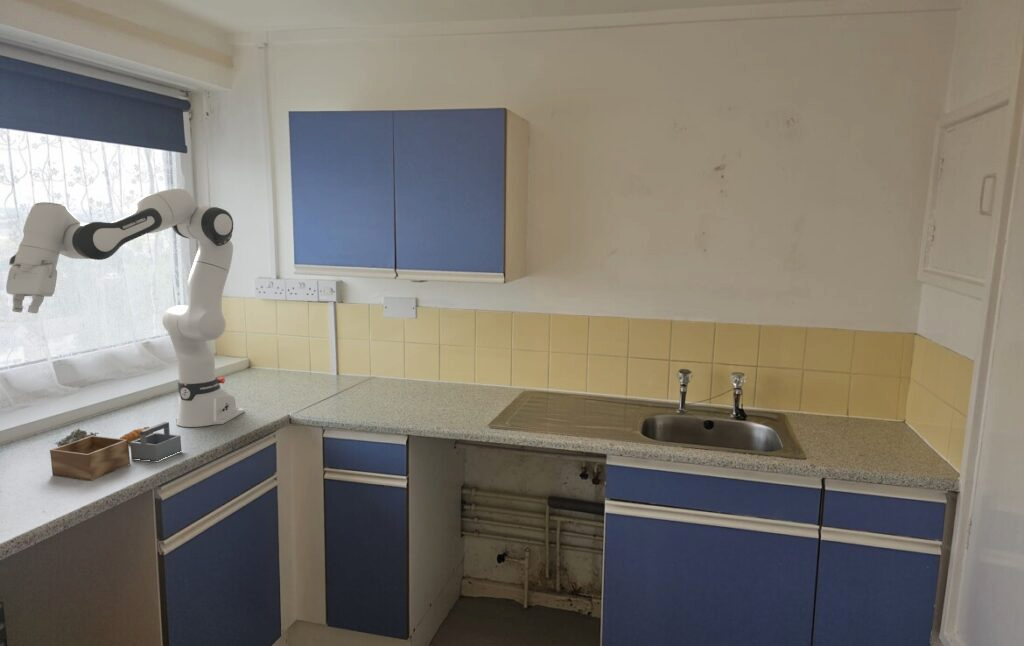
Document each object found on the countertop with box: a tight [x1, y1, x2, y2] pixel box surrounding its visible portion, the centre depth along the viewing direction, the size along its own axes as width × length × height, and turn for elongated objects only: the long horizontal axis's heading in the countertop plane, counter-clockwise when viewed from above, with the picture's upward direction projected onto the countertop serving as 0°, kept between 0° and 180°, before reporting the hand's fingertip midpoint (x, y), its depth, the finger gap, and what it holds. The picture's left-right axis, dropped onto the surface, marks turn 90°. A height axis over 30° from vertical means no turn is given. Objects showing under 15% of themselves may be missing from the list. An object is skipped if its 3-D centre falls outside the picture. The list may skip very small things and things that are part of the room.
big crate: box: [49, 435, 131, 482], centre depth 180 cm, size 13×13×7 cm
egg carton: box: [54, 428, 100, 448], centre depth 199 cm, size 11×8×4 cm
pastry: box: [119, 426, 154, 446], centre depth 204 cm, size 9×7×4 cm
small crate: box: [129, 421, 182, 461], centre depth 191 cm, size 9×9×9 cm
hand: (24, 312), depth 174 cm, fingers open, 8 cm apart
